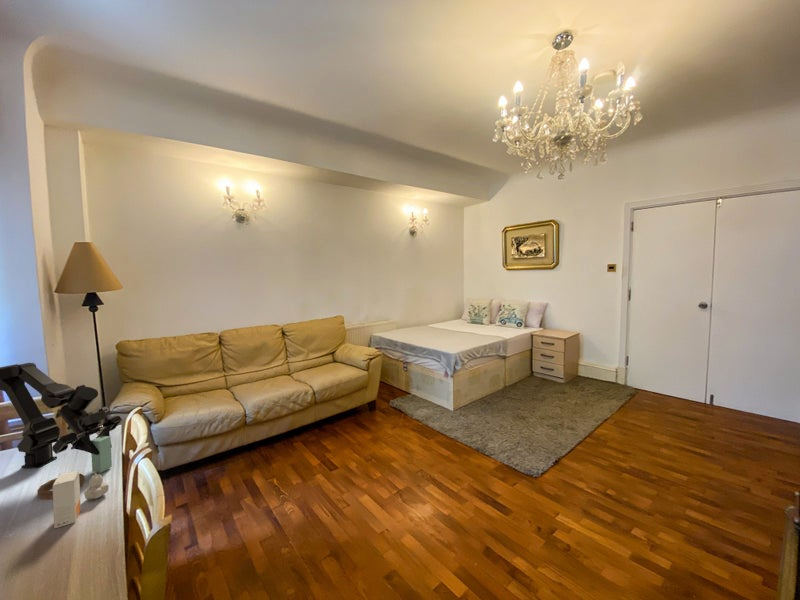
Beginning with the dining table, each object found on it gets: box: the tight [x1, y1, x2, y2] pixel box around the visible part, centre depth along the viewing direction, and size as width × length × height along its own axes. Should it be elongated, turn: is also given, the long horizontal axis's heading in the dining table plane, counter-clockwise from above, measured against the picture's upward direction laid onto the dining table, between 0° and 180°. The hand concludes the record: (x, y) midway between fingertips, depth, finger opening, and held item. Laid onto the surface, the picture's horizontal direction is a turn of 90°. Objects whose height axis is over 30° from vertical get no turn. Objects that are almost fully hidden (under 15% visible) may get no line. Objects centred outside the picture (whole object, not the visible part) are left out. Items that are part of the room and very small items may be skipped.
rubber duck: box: [83, 472, 109, 500], centre depth 99 cm, size 5×7×8 cm
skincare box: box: [52, 470, 82, 529], centre depth 90 cm, size 6×4×12 cm
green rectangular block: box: [90, 436, 113, 474], centre depth 114 cm, size 4×4×11 cm
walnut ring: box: [36, 473, 85, 500], centre depth 104 cm, size 10×10×2 cm
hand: (104, 451), depth 113 cm, fingers closed on green rectangular block, 4 cm apart
